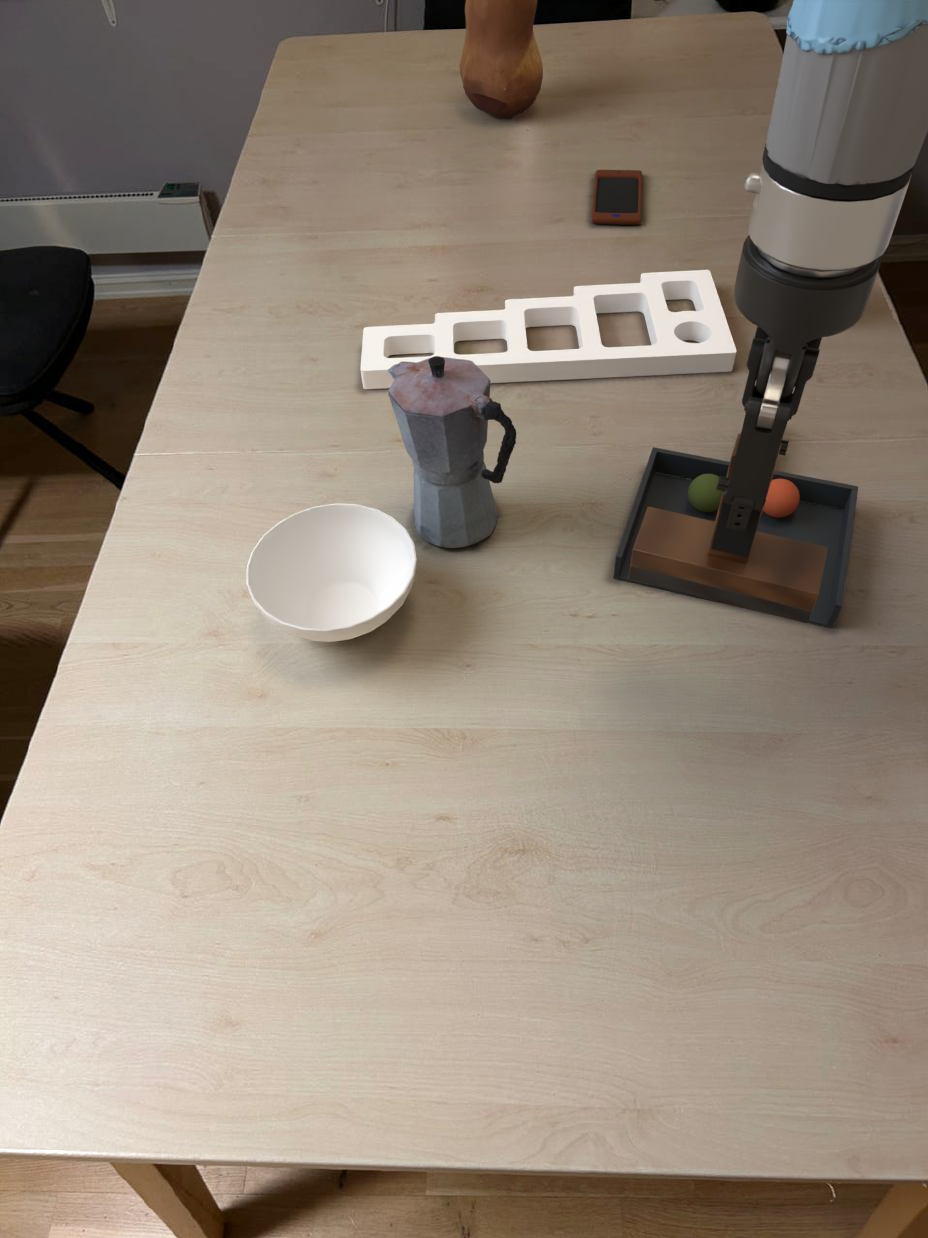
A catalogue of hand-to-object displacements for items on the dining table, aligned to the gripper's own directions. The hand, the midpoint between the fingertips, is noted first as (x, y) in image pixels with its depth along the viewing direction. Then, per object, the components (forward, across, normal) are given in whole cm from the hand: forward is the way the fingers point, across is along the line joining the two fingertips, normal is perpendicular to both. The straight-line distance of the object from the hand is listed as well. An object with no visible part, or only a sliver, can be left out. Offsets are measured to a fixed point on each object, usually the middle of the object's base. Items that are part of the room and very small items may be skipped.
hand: (734, 535), depth 70 cm
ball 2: (+17, -24, +3) cm, 29 cm away
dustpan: (+19, -23, 0) cm, 30 cm away
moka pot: (+19, -12, -28) cm, 36 cm away
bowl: (+20, +3, -34) cm, 40 cm away
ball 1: (+17, -22, -4) cm, 28 cm away
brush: (+5, 0, 0) cm, 5 cm away
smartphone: (+19, -82, -29) cm, 89 cm away
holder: (+19, -46, -29) cm, 58 cm away
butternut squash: (+19, -106, -56) cm, 121 cm away
